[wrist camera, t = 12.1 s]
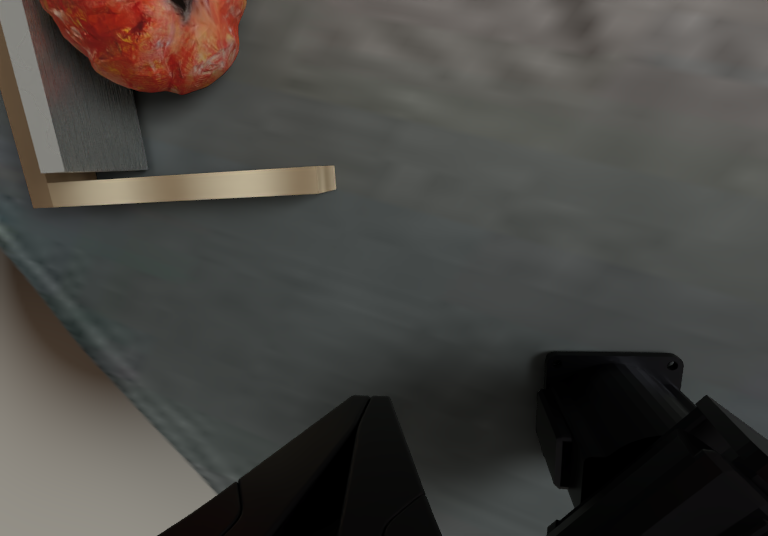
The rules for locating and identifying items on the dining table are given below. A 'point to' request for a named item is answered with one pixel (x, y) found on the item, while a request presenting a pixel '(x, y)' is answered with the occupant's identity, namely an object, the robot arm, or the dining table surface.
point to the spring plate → (69, 98)
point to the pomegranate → (153, 39)
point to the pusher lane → (143, 189)
